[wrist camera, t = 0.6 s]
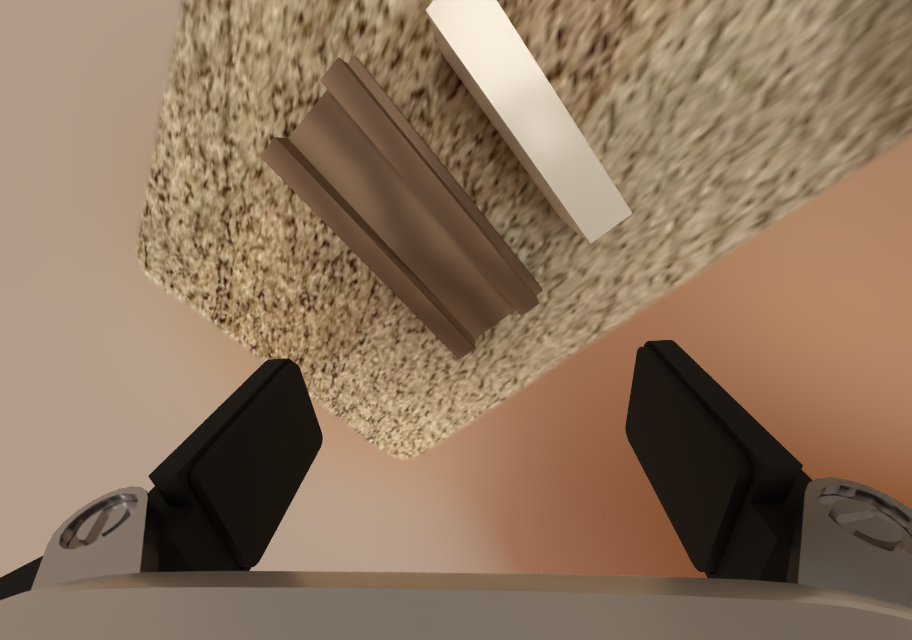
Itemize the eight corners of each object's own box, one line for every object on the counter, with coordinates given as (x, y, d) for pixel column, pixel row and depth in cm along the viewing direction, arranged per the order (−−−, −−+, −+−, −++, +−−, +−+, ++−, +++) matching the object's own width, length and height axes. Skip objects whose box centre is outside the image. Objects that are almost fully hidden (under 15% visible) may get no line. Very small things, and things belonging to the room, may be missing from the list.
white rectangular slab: (472, 20, 25) (469, -43, 17) (591, 196, 30) (632, 213, 22) (442, 54, 26) (425, 10, 18) (561, 219, 31) (590, 243, 23)
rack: (358, 59, 26) (345, 48, 24) (540, 286, 34) (546, 298, 31) (274, 162, 30) (254, 163, 27) (455, 348, 37) (453, 363, 34)
